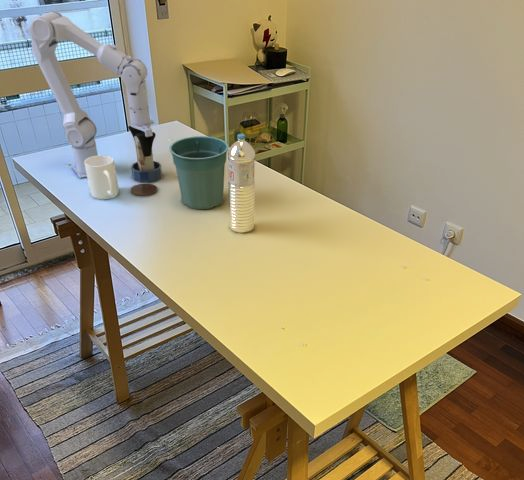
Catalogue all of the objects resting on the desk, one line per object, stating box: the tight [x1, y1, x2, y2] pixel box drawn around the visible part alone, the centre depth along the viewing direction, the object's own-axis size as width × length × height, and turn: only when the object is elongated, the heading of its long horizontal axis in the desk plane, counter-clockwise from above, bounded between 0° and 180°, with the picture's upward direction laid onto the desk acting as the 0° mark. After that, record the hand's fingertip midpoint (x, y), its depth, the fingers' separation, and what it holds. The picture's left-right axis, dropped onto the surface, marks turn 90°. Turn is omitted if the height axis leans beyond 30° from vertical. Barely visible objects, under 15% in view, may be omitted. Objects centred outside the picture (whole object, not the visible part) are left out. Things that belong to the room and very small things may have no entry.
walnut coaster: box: [130, 183, 158, 197], centre depth 164 cm, size 8×8×1 cm
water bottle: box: [227, 133, 256, 234], centre depth 139 cm, size 7×7×25 cm
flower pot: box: [168, 135, 230, 210], centre depth 154 cm, size 16×16×16 cm
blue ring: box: [130, 160, 163, 184], centre depth 171 cm, size 9×9×4 cm
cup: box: [84, 154, 120, 200], centre depth 158 cm, size 8×12×10 cm
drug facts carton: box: [133, 136, 154, 171], centre depth 168 cm, size 5×4×10 cm
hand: (144, 152), depth 167 cm, fingers closed on drug facts carton, 5 cm apart
